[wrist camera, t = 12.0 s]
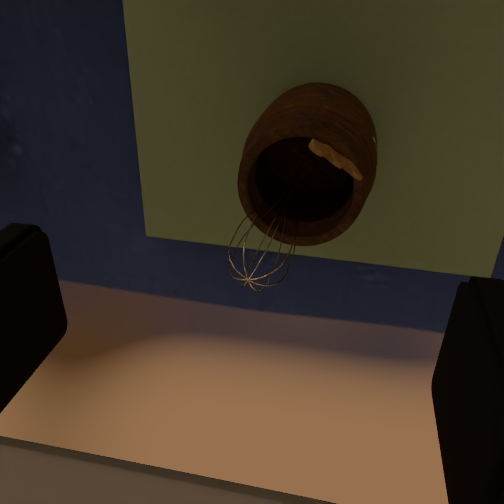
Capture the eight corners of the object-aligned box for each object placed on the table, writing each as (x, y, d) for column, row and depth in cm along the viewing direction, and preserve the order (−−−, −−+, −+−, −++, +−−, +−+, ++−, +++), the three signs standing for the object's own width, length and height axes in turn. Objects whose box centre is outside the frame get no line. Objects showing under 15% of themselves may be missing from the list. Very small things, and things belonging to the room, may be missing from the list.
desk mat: (149, 232, 30) (145, 236, 30) (124, -26, 23) (119, -26, 23) (488, 273, 27) (490, 278, 26) (577, -16, 20) (582, -16, 19)
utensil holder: (240, 157, 26) (154, 272, 16) (301, 48, 23) (241, 103, 12) (333, 214, 26) (309, 361, 16) (406, 114, 23) (433, 220, 13)
